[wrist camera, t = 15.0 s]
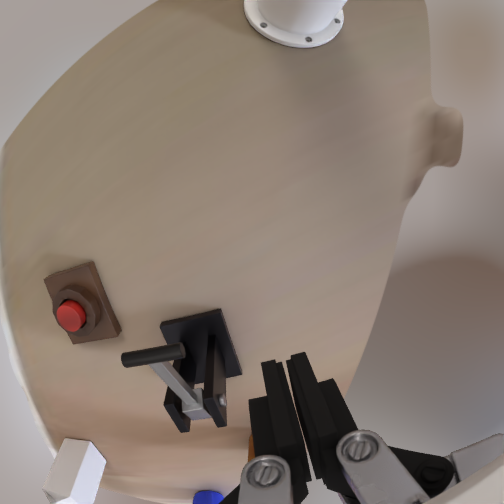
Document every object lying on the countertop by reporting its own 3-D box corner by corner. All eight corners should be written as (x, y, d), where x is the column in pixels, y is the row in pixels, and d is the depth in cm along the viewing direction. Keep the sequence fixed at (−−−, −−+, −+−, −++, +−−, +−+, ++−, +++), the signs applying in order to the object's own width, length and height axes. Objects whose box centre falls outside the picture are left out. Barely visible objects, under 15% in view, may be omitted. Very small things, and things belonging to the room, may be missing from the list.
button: (58, 302, 30) (52, 308, 29) (79, 297, 30) (72, 302, 29) (70, 327, 31) (64, 333, 30) (90, 323, 31) (85, 329, 30)
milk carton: (90, 440, 41) (64, 513, 23) (106, 460, 43) (87, 529, 25) (65, 437, 41) (36, 503, 22) (81, 457, 43) (58, 520, 24)
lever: (122, 343, 21) (119, 369, 19) (179, 332, 21) (180, 359, 19) (179, 402, 28) (180, 422, 26) (222, 395, 28) (225, 415, 26)
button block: (49, 275, 32) (36, 283, 29) (93, 260, 33) (81, 269, 29) (77, 338, 35) (67, 351, 32) (121, 330, 35) (113, 343, 32)
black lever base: (161, 322, 35) (136, 386, 23) (220, 308, 36) (219, 372, 23) (187, 380, 38) (178, 448, 26) (241, 369, 38) (248, 438, 26)
